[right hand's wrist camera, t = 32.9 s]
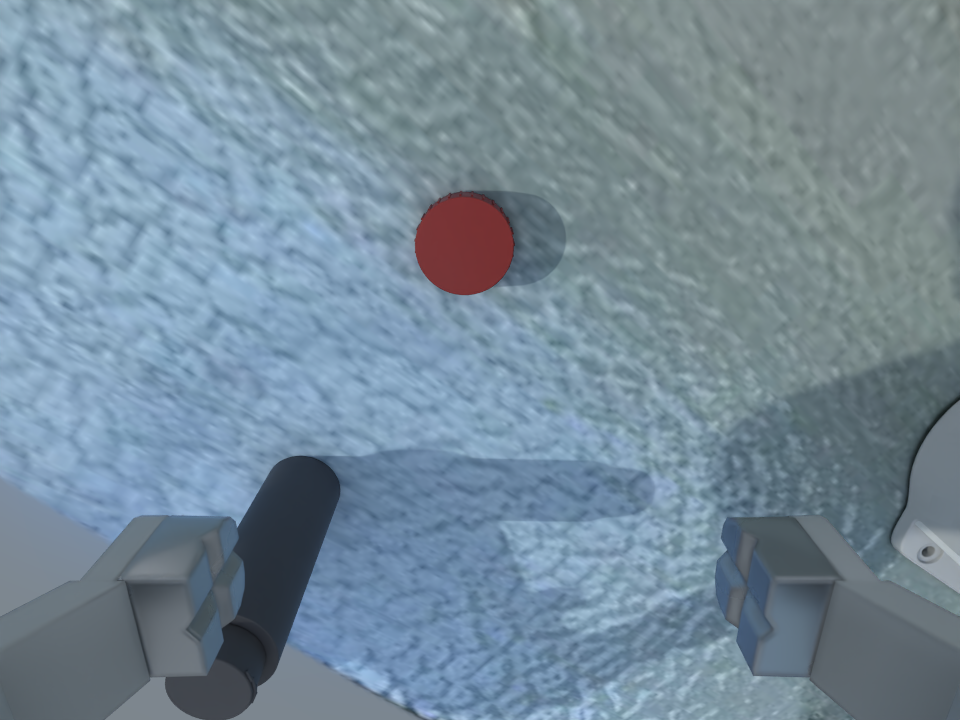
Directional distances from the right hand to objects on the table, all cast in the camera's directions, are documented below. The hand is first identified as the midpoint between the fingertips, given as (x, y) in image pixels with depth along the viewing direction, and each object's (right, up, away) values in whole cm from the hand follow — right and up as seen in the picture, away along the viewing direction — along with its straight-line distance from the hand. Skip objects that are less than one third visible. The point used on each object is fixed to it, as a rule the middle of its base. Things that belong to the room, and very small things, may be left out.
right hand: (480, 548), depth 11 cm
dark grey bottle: (-12, -5, +31) cm, 34 cm away
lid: (-1, +9, +23) cm, 25 cm away
